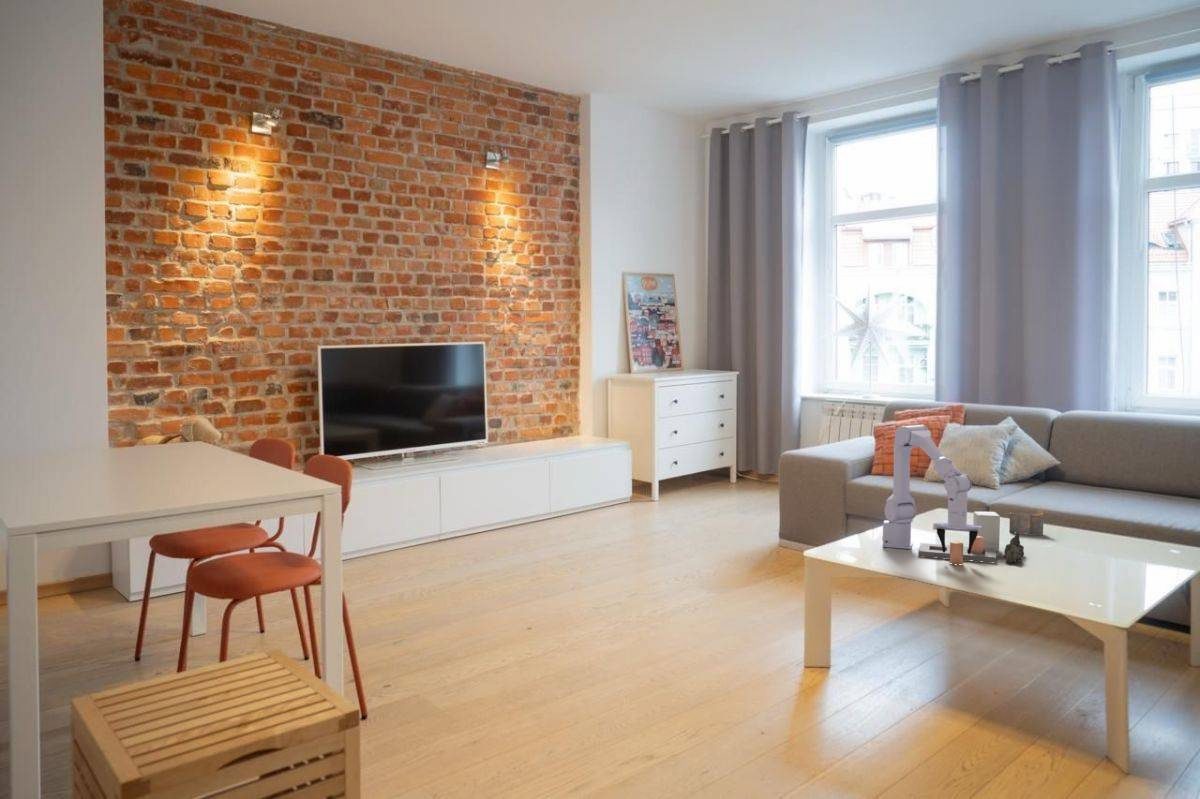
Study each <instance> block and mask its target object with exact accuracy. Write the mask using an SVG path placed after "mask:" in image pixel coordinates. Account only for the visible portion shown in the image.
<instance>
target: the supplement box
mask: <svg viewBox="0 0 1200 799" xmlns="http://www.w3.org/2000/svg"><path fill="white" fill-rule="evenodd" d="M972 521H973V522H972V523H973V524H972V525H976V526H981V533H977V536H981V537H983V548H987V549H996V551H999V552H1000V528H1001V527H1000V525H1001V515H999V514H998V513H997V512H996V511H973V519H972Z"/></svg>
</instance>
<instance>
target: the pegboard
mask: <svg viewBox="0 0 1200 799" xmlns="http://www.w3.org/2000/svg"><path fill="white" fill-rule="evenodd" d="M968 548H969V546H963V560H973V561H983V562H994V563H993V564H995V563H996V564H997V552H996V549H987V548H983V554H975V553H971V554H968ZM917 551H918V553H917V554H918V556H924V557H923V558H927V557H937V558H936V559H938V558H949V559H950V544H945V552H943V549H942V545H941V544H937V543H936V544H935V543H924V542H923V543H922V542H920V544H919V548H918V550H917ZM949 559H948V560H949ZM983 562H982V563H983Z"/></svg>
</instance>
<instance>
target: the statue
mask: <svg viewBox="0 0 1200 799" xmlns="http://www.w3.org/2000/svg"><path fill="white" fill-rule="evenodd" d="M1024 549H1025V548H1024V545H1021V540H1020V534H1019V533H1015V535H1014V537H1012V538H1011V539H1010V540H1009V543H1008V544H1006V545H1005V548H1004V554H1003V556H1002V558H1003V559H1005V560H1006V564H1007V565H1012V564H1013V562H1015V563H1019V562H1020V561H1021V560H1022V559H1023V557H1025V551H1024Z"/></svg>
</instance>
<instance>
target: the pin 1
mask: <svg viewBox="0 0 1200 799" xmlns="http://www.w3.org/2000/svg"><path fill="white" fill-rule="evenodd" d="M949 545H950V560H949V564H950V563H952V564H957V565H959V564H963V565H964V561H963V547H964V542H961V541H950V542H949ZM957 565H956V566H957ZM959 566H960V565H959Z"/></svg>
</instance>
